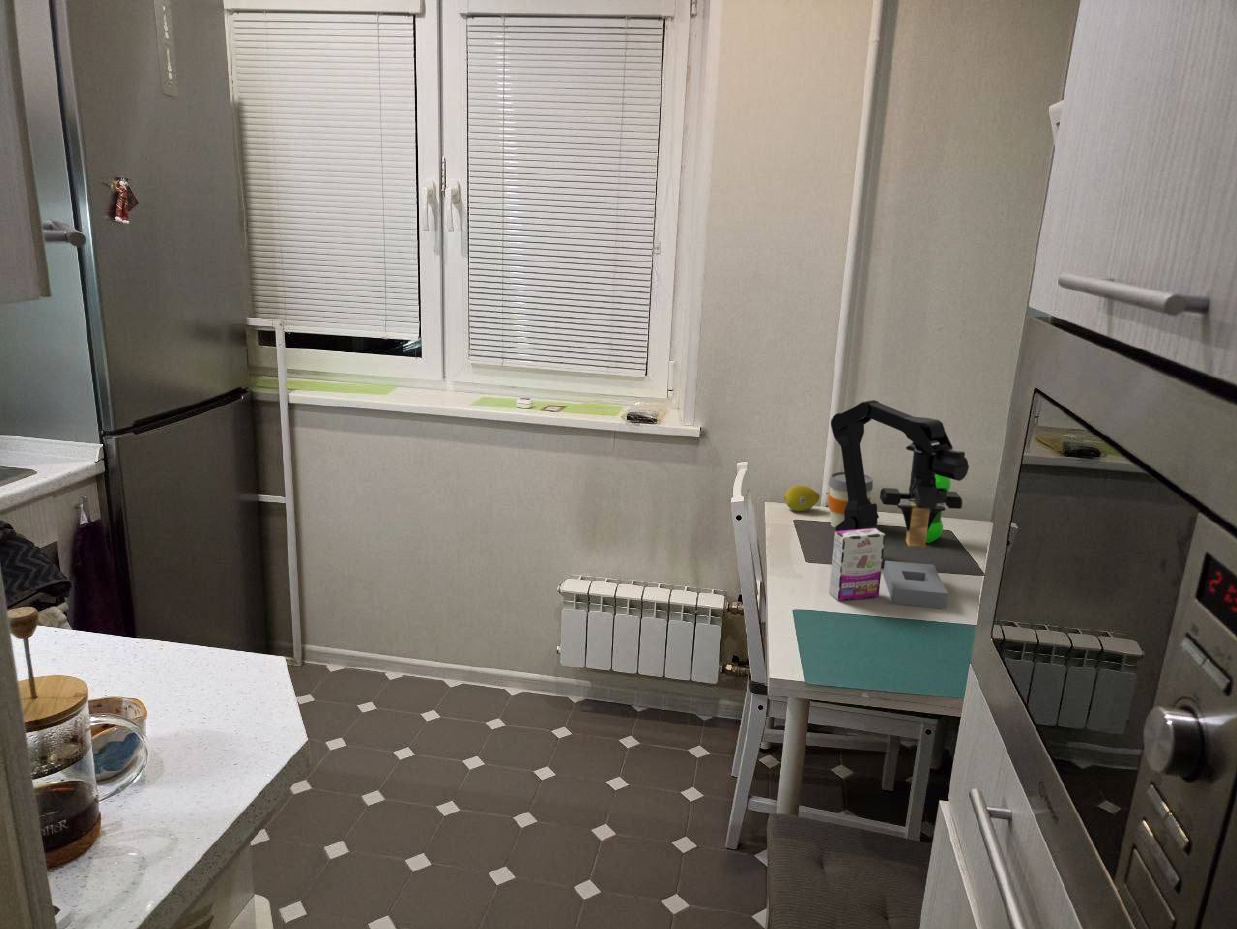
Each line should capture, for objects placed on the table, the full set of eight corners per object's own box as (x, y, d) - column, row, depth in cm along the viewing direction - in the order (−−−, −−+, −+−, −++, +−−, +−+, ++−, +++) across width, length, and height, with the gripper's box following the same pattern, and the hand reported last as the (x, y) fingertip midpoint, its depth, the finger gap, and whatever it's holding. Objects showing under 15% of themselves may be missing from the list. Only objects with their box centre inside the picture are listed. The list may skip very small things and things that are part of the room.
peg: (908, 546, 224) (912, 508, 222) (905, 541, 228) (909, 503, 226) (925, 547, 224) (929, 509, 221) (921, 542, 228) (926, 504, 225)
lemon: (781, 512, 278) (783, 487, 275) (784, 504, 285) (786, 480, 283) (816, 516, 275) (819, 491, 273) (818, 508, 282) (821, 484, 280)
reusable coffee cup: (816, 520, 271) (821, 472, 267) (853, 517, 275) (858, 470, 271) (838, 534, 260) (843, 484, 256) (876, 531, 264) (882, 482, 260)
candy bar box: (868, 589, 222) (875, 527, 218) (879, 598, 218) (887, 534, 213) (827, 593, 219) (834, 529, 215) (837, 601, 215) (844, 537, 210)
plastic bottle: (914, 530, 265) (925, 448, 258) (948, 540, 258) (960, 456, 251) (898, 538, 258) (908, 454, 251) (932, 548, 251) (944, 462, 244)
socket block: (893, 604, 214) (895, 588, 213) (883, 575, 232) (885, 560, 230) (945, 608, 213) (947, 593, 212) (931, 579, 230) (933, 564, 229)
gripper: (890, 477, 214) (883, 539, 218) (971, 482, 212) (963, 544, 216) (882, 465, 225) (876, 524, 229) (960, 469, 223) (952, 529, 227)
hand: (916, 531), depth 225 cm, fingers closed on peg, 4 cm apart
